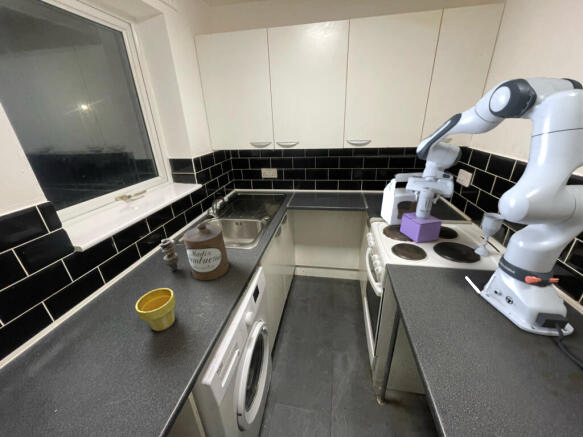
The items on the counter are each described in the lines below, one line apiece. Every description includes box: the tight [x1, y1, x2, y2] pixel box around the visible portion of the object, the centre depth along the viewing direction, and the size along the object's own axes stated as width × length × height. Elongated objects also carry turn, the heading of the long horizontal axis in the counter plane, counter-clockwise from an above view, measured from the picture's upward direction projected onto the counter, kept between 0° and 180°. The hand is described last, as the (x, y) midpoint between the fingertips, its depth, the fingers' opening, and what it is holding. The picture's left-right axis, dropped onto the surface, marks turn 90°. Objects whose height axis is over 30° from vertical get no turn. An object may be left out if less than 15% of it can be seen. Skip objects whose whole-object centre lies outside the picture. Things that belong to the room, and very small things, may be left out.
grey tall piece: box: [159, 238, 179, 272], centre depth 96 cm, size 6×6×15 cm
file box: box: [399, 212, 443, 244], centre depth 117 cm, size 13×12×10 cm
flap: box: [412, 215, 443, 224], centre depth 112 cm, size 6×12×1 cm, turn 103°
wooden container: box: [182, 222, 230, 281], centre depth 94 cm, size 15×15×22 cm
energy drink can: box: [416, 187, 435, 219], centre depth 112 cm, size 6×6×15 cm
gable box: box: [380, 172, 423, 226], centre depth 132 cm, size 22×13×28 cm, turn 92°
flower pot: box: [134, 287, 177, 332], centre depth 71 cm, size 10×10×10 cm
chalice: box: [474, 212, 505, 257], centre depth 99 cm, size 7×7×18 cm
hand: (425, 201), depth 111 cm, fingers closed on energy drink can, 6 cm apart
